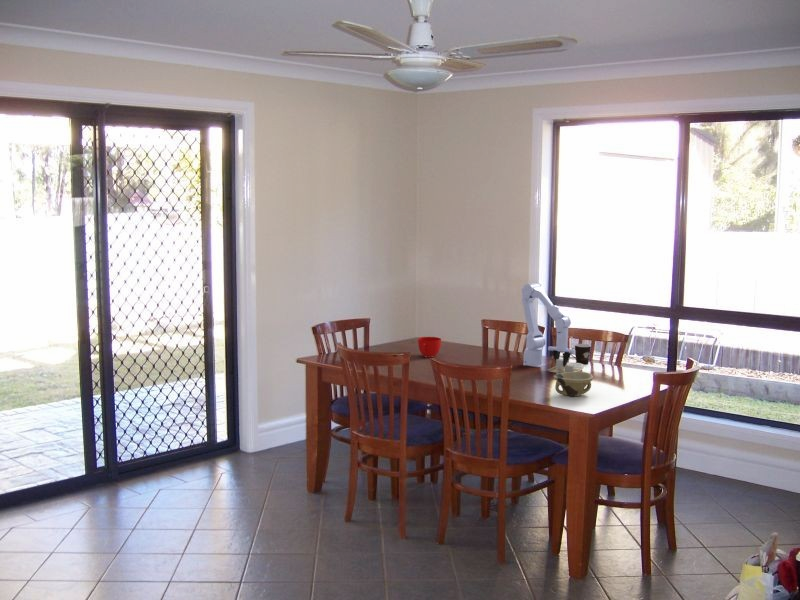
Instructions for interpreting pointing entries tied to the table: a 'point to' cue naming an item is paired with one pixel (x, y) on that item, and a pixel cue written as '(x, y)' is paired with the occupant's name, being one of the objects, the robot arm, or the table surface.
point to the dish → (577, 365)
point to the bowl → (573, 383)
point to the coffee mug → (582, 353)
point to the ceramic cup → (429, 345)
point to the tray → (562, 370)
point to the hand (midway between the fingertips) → (561, 365)
